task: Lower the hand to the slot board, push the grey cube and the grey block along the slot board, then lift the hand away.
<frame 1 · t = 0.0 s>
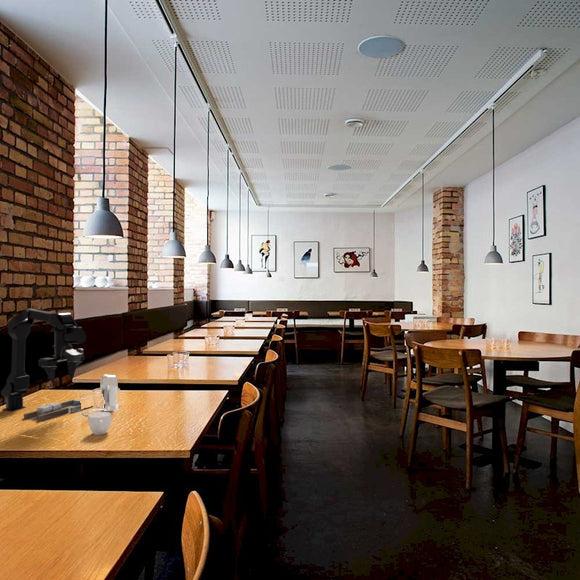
hand: (62, 380, 197), 15 cm above the table, fingers open, 9 cm apart
slot board: (58, 413, 200), on the table
cup: (100, 434, 172), on the table
grey block: (53, 413, 198), resting on slot board
grey cube: (44, 416, 194), resting on slot board
beer glass: (109, 410, 205), on the table
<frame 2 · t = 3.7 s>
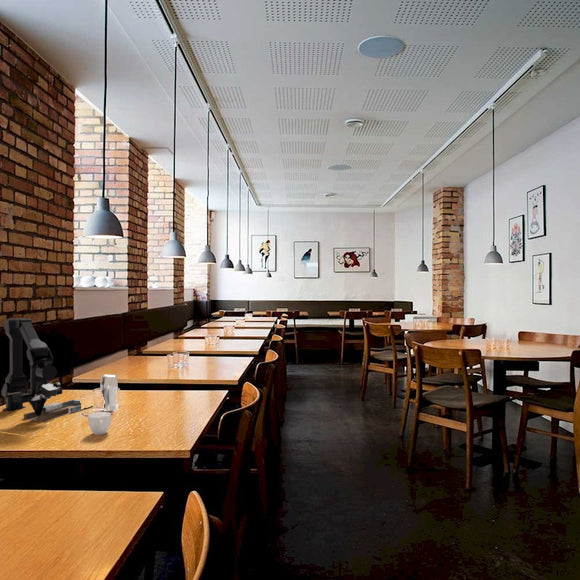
hand: (38, 415, 191), 2 cm above the table, fingers closed
grey block: (54, 413, 198), point 1 cm above the table, touching grey cube
grey cube: (46, 415, 194), point 1 cm above the table, touching grey block, gripper
everything else where it was.
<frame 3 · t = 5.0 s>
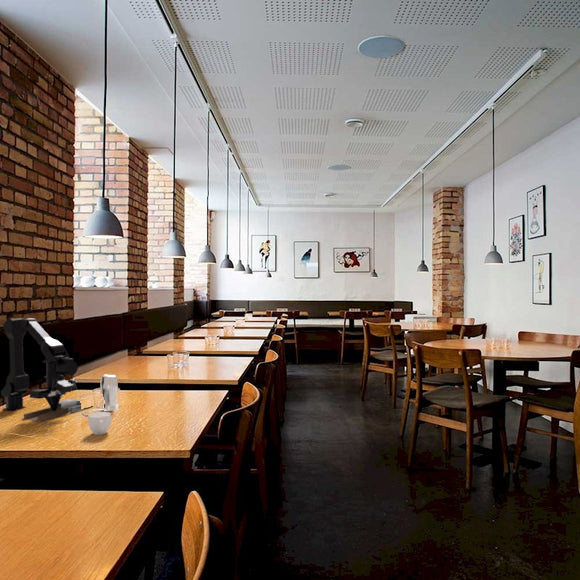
hand: (54, 411, 198), 2 cm above the table, fingers closed
grey block: (69, 409, 205), point 1 cm above the table, touching slot board
grey cube: (61, 411, 201), point 1 cm above the table, touching gripper, slot board
everything else where it was.
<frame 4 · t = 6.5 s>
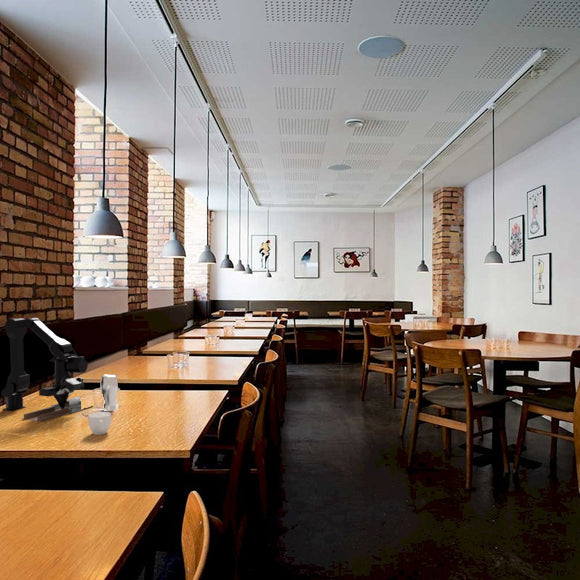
hand: (62, 408, 202), 2 cm above the table, fingers closed
grey block: (76, 407, 209), resting on slot board, touching grey cube
grey cube: (69, 409, 205), resting on slot board, touching grey block, gripper
everything else where it was.
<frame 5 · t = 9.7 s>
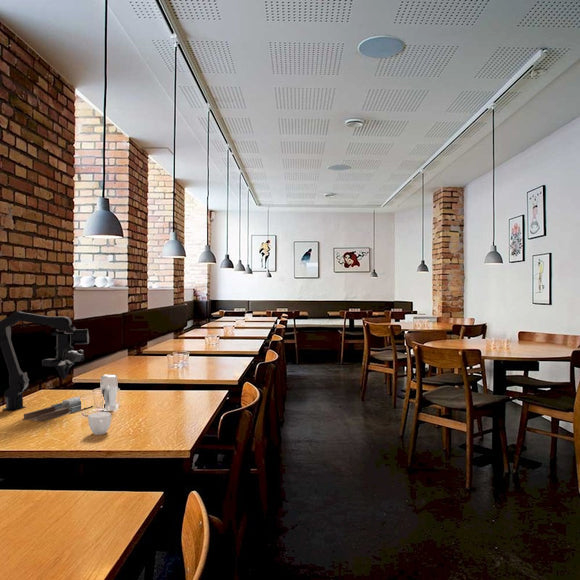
hand: (64, 379, 212), 12 cm above the table, fingers closed
grey cube: (69, 409, 205), resting on slot board, touching grey block
everything else where it was.
at the end: grey cube inside the target area (2.0 cm from its centre), point 0.5 cm above the table; grey block inside the target area (2.0 cm from its centre), point 0.5 cm above the table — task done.
